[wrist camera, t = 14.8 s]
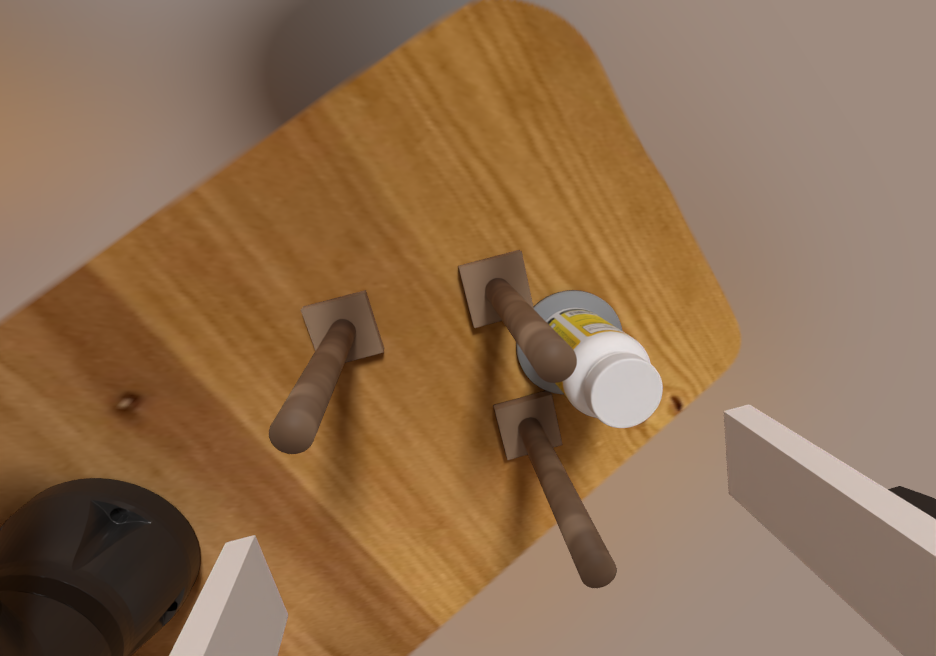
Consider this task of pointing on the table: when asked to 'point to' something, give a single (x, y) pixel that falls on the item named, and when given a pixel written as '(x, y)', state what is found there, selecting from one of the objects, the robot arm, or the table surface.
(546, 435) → the post
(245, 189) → the table surface
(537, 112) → the table surface
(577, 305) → the coaster
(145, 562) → the robot arm
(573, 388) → the pill bottle
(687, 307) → the table surface
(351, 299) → the post
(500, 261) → the post corner
